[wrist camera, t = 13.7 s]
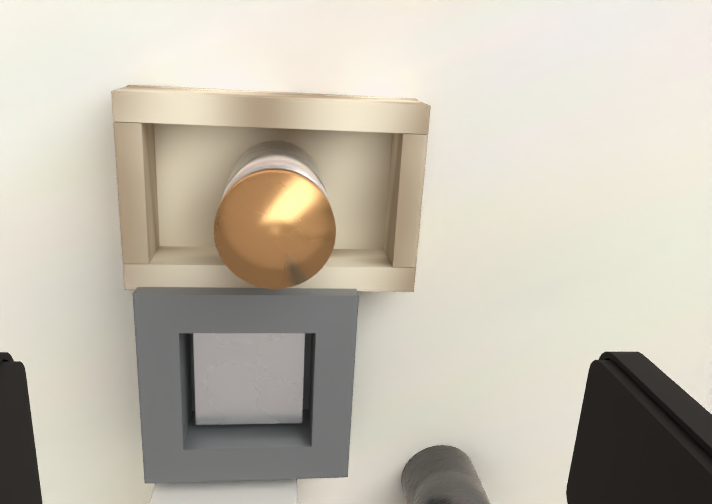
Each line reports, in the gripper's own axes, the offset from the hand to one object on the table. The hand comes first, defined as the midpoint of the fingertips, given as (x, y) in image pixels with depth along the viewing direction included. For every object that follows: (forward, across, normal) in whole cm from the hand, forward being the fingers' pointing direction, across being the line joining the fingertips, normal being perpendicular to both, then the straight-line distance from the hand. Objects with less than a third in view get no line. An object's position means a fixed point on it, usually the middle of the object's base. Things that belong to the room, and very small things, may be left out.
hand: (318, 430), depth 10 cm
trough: (+18, +1, 0) cm, 19 cm away
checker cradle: (+18, +2, +8) cm, 20 cm away
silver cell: (+18, +1, 0) cm, 18 cm away
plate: (+17, +2, +8) cm, 19 cm away
